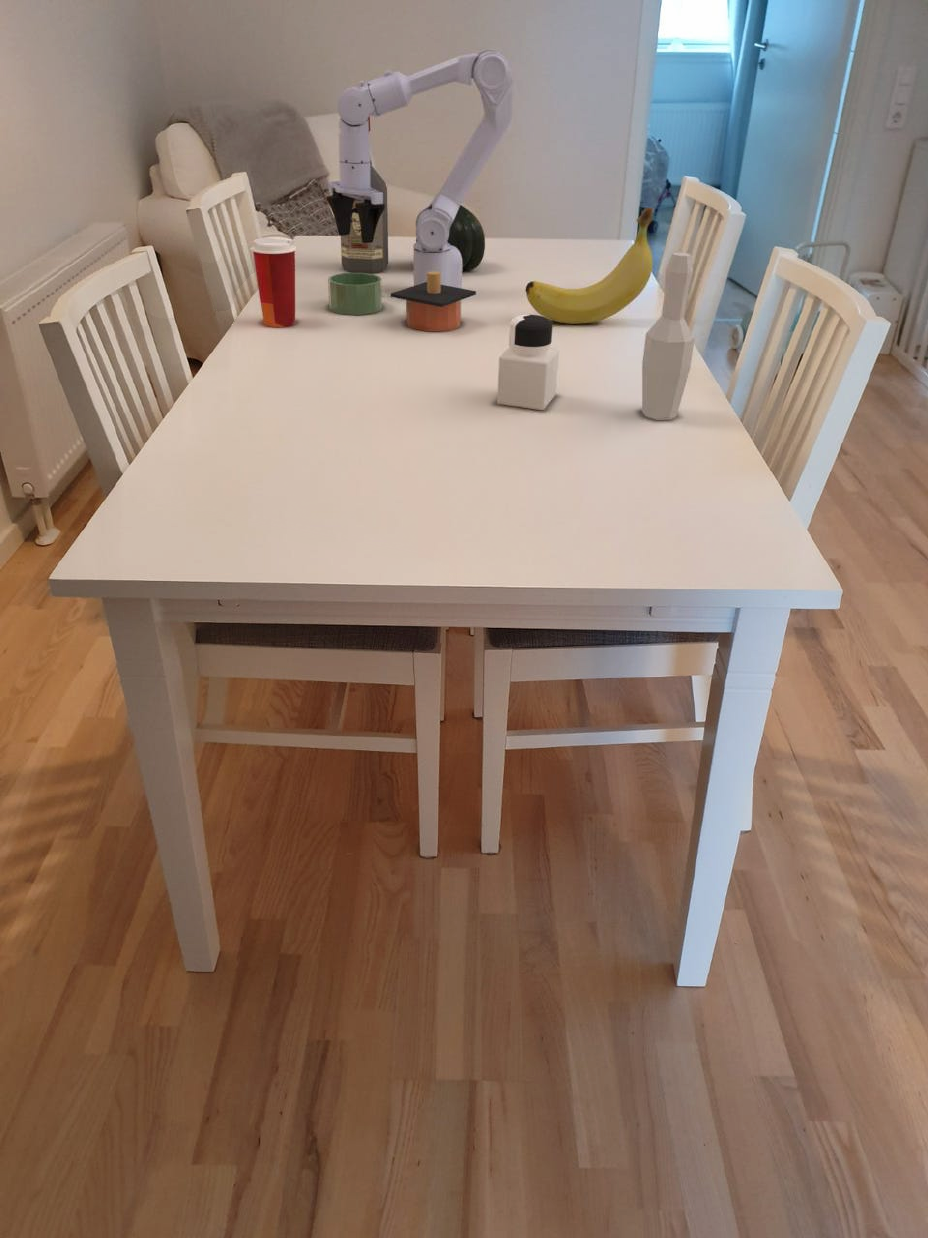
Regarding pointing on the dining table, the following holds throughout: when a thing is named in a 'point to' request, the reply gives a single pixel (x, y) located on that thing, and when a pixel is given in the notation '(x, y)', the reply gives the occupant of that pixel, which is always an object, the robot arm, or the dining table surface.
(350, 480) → the dining table surface
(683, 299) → the faceted bottle
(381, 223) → the liquor
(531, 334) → the medicine bottle
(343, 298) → the sage cup
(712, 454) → the dining table surface
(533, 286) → the banana
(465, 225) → the squash
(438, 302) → the dark square pegged slab
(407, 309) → the terracotta cup
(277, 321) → the paper cup
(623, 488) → the dining table surface
